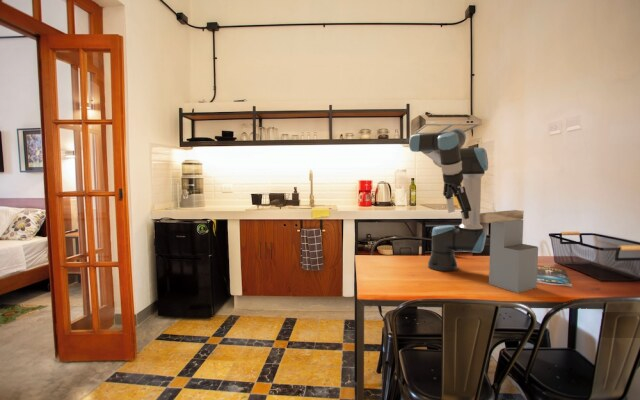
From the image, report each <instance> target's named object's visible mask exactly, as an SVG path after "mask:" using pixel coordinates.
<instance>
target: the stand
mask: <svg viewBox="0 0 640 400" xmlns="http://www.w3.org/2000/svg"><path fill="white" fill-rule="evenodd" d="M489 235H490V240H489V241H490V242H489V243H490V244H489V267H488V269H489V270H488V271H489V272H488V285H490V286H494V287H498V288H501V289H504V290H506V291H507V290H508V291H511V292H513V293H516V294H519V293H523V292H526V291H530V290H533V288H534V289H536V288H537V287H538V286H537V284H538V283H537V282H538V262H539V261H538V260H539V247H538V246H537V245H531V244H526V243H525V244H524V242H523V240H524V239H523V237H524V219H521V220H512V221H503V222H494V223H490V234H489Z"/></svg>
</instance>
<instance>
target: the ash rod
mask: <svg viewBox="0 0 640 400" xmlns="http://www.w3.org/2000/svg"><path fill="white" fill-rule="evenodd" d="M524 214H525V213H524V210H517V209H511V210H500V211H498V210H497V211H490V212H480V213H479V222H480V223H482V224H483V223H484V224H491V223H494V222H503V221H512V220H524Z"/></svg>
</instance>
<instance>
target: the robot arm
mask: <svg viewBox="0 0 640 400" xmlns="http://www.w3.org/2000/svg"><path fill="white" fill-rule="evenodd" d="M466 138H467V136H466V132H465V131H464V130H463V129H460V128H453V129H451V130H449V131H443V132H434V133H433V132H431V133H429V132H428V133H417V134H412V135H410V137H409V141H408V144H409V150H410V151H411V152H416V153H418V152H421V153H422V154H424V155H425V156H427V157H428V158H429V159H431V160H432V162H433V164H434V165H435V166H437V167H439V168H441V172H442V180H443V182H444V183H443V191H442V192H443V193H442V195H443V196H444V198H445V200H446V207H447V213H448V214H450V213H454V212H456V210H455V201H454V198H453V197H455V198H456V200H457V202H458V205H459V207H460V209H461V211H460V214H461V223H460V224H459V225H458V228H456V226H455V225H450V224H447V225H438V226H437V225H436V226H434V227H433V228H432V230H431V231H432V232H431V252H430V253H431V254H430V257H429V259H428V262H427V267H428V268H429V269H431V270H435V271H440V272H455V271H456V270H458V262H457V260H456V259H457V258H456V256H455V251H459V252H466V253H471V254H473V253H475V254H476V253H477V254H479V253H482V252H483V251H484V248H485V245H486V239H487V231H486V230H484V226H483V225H482V224H481V222H479V213H481V201H482V200H481V199H482V198H481V194H482V177H483V176H485V172H486V171H488V169H489V158H488V154H487V150H486V149H485V148H484V147H464V148H463V146H464V145H465V142H466V140H467V139H466ZM461 182H462V185H461ZM454 250H455V251H454Z"/></svg>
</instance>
